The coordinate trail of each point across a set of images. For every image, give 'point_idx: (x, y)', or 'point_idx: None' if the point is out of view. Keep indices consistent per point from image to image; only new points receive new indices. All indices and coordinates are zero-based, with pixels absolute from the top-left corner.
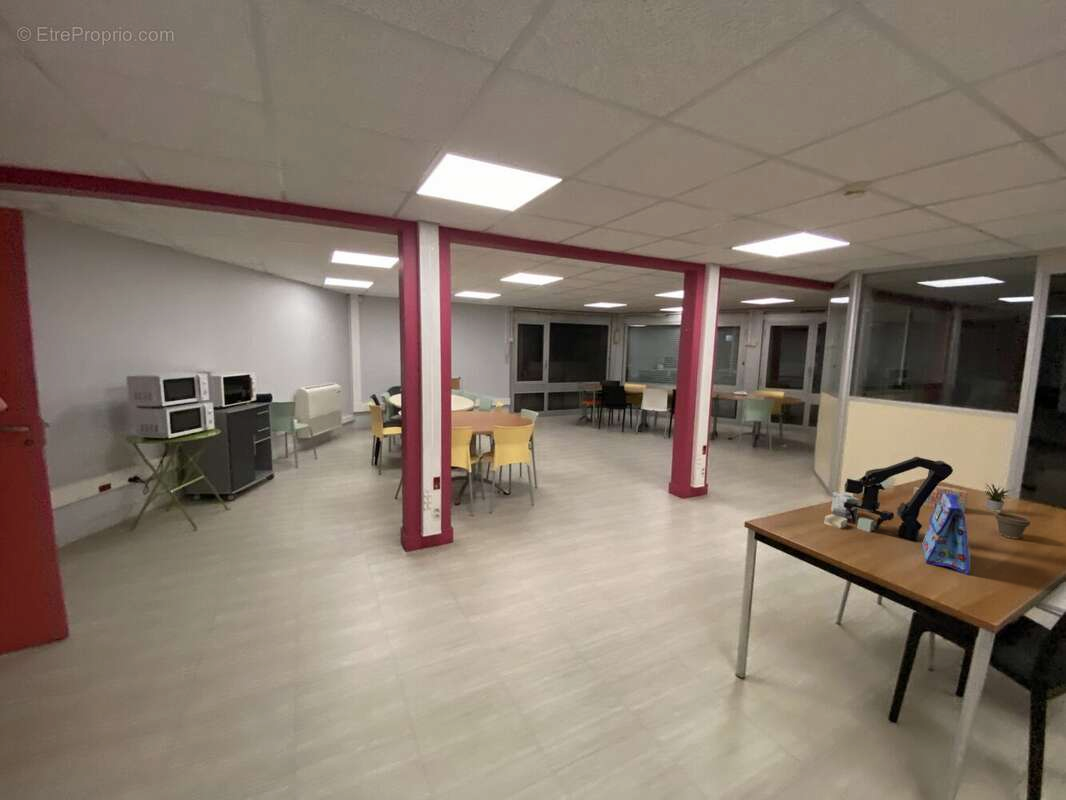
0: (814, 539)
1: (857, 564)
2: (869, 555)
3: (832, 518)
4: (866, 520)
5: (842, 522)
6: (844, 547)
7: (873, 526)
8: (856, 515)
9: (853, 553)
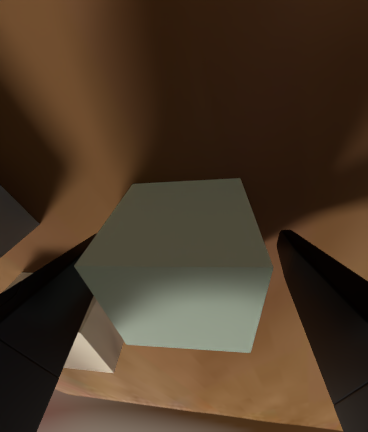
0: (159, 392)
1: (267, 417)
2: (282, 398)
3: (64, 365)
4: (195, 340)
5: (111, 353)
6: (222, 394)
7: (247, 198)
8: (34, 299)
9: (248, 402)
